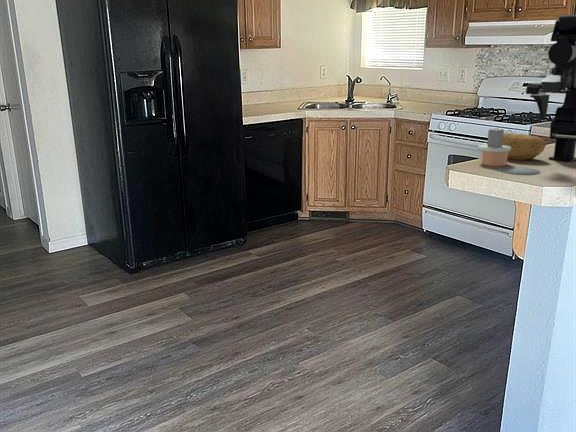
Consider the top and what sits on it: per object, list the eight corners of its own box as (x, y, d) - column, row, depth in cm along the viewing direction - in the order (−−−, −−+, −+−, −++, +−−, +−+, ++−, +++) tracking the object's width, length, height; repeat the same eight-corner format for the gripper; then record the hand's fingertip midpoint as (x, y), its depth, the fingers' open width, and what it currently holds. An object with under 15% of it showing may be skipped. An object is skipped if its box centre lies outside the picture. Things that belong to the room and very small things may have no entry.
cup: (489, 161, 168) (490, 146, 167) (510, 164, 163) (512, 149, 161) (475, 164, 164) (477, 149, 163) (497, 168, 159) (498, 152, 157)
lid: (489, 145, 168) (491, 126, 166) (517, 149, 161) (519, 129, 160) (471, 149, 163) (473, 129, 161) (499, 153, 156) (501, 132, 154)
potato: (537, 165, 162) (540, 137, 160) (490, 159, 171) (492, 133, 169) (548, 160, 169) (551, 134, 167) (502, 155, 178) (504, 130, 176)
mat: (511, 166, 160) (511, 165, 160) (548, 172, 152) (548, 171, 152) (489, 171, 154) (489, 170, 154) (527, 178, 146) (527, 177, 146)
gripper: (518, 64, 153) (512, 121, 157) (588, 65, 138) (579, 127, 143) (539, 63, 159) (533, 118, 164) (607, 64, 145) (598, 124, 149)
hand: (559, 121), depth 155 cm, fingers open, 9 cm apart
